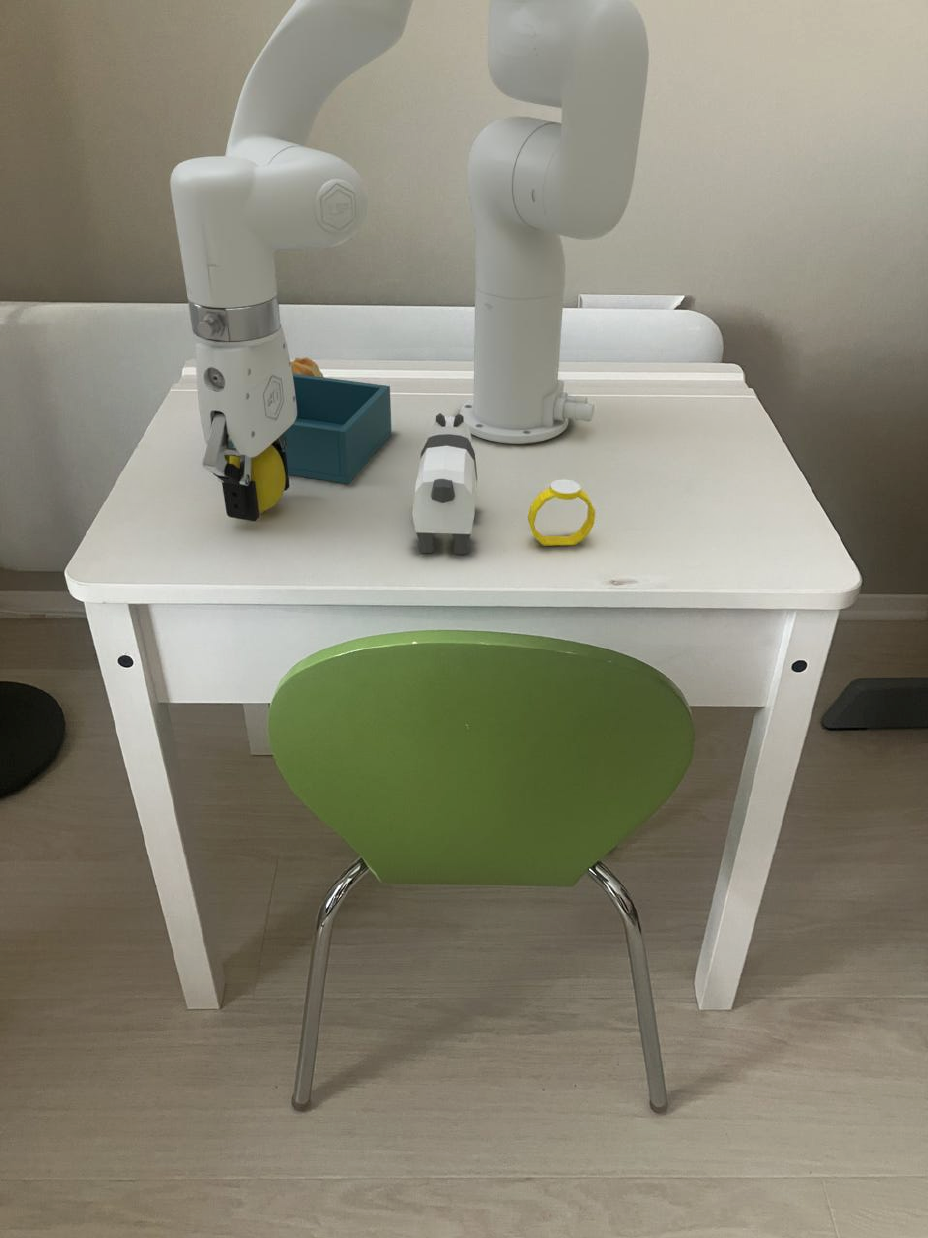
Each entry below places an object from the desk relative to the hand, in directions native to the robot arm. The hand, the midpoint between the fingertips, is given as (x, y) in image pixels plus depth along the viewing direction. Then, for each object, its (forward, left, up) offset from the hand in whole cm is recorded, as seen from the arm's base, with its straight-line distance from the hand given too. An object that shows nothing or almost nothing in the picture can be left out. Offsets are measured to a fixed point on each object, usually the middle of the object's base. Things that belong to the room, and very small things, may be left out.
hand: (259, 500), depth 94 cm
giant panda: (-18, -4, -2) cm, 18 cm away
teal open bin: (+2, -15, -1) cm, 15 cm away
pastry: (+10, -28, -2) cm, 29 cm away
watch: (-29, -4, -2) cm, 29 cm away
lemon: (0, 0, -2) cm, 2 cm away
